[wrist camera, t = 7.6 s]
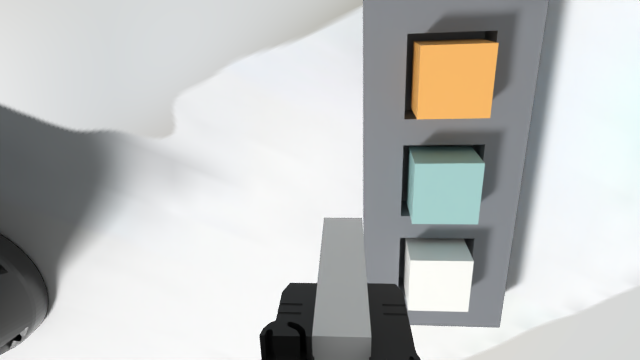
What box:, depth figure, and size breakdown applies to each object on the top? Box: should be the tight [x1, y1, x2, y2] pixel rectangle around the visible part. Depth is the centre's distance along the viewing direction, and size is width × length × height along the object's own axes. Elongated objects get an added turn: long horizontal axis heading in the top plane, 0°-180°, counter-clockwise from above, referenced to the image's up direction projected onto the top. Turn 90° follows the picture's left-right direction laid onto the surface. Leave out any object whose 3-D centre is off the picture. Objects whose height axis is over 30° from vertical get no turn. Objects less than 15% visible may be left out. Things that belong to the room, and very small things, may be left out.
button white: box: [403, 238, 474, 312], centre depth 35 cm, size 5×5×4 cm
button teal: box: [407, 146, 485, 224], centre depth 32 cm, size 5×5×4 cm
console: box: [363, 0, 549, 327], centre depth 34 cm, size 12×28×4 cm, turn 2°
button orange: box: [411, 39, 499, 119], centre depth 29 cm, size 5×5×4 cm
